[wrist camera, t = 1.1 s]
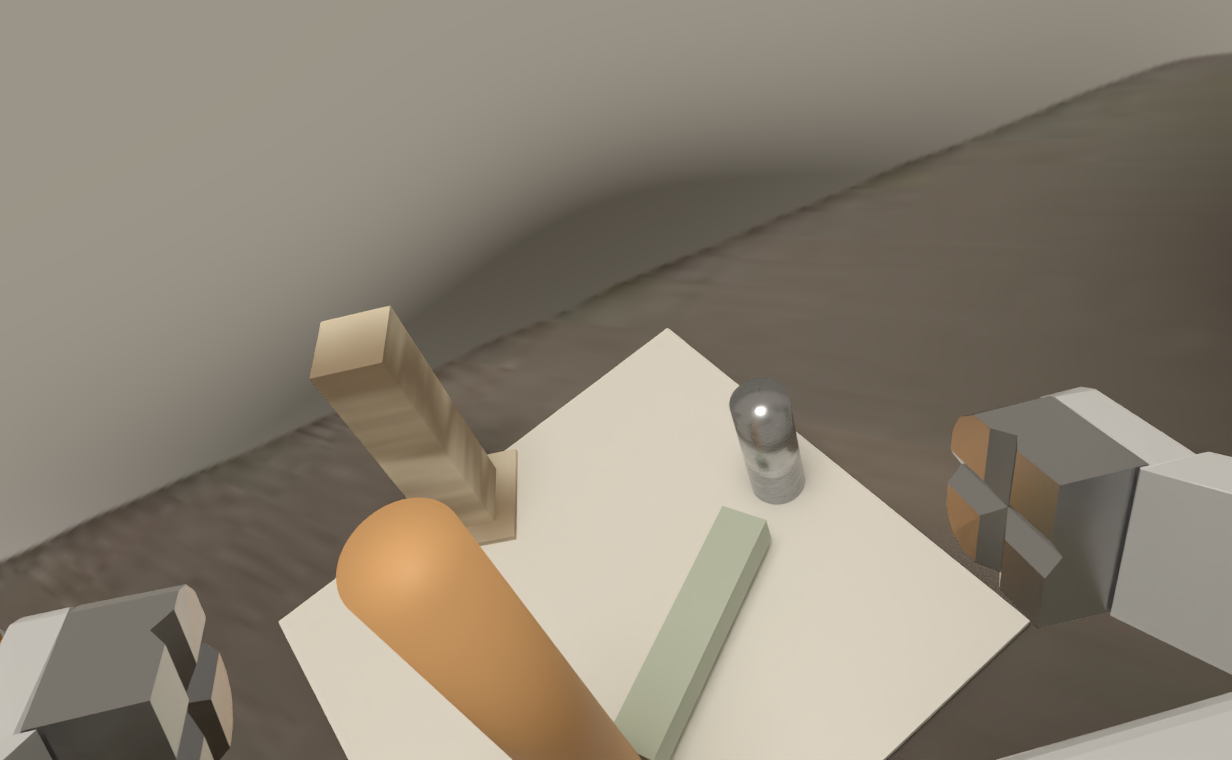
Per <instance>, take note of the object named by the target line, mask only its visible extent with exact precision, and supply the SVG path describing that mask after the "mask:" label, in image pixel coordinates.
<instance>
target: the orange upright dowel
mask: <svg viewBox="0 0 1232 760" xmlns="http://www.w3.org/2000/svg"><path fill="white" fill-rule="evenodd" d="M770 541H771V535H770V532H769V528H768V524H767V521H766V520H765V519H762V518H759V517H756V516H753V515H749V514H746V513H743V512H740V511H737V510H734V509H731V508H728V507H725V506H722V508H721V510H720V512H719V514H718V516H717V518H716V520H715V522H714V524H713V526H712V528H711V530H710V532H709V534H708V536H707V538H706V540H705V542H704V544H703V546H702V548H701V550H700V552H699V554H698V556H697V558H696V560H695V562H694V564H693V566H692V568H691V570H690V572H689V574H688V576H687V578H686V580H685V582H684V584H683V586H682V587H681V589H680V591H679V593H678V595H677V597H676V599H675V601H674V603H673V605H672V607H671V609H670V611H669V613H668V615H667V617H666V619H665V621H664V623H663V625H662V627H661V629H660V631H659V633H658V635H657V637H656V639H655V641H654V643H653V645H652V647H651V649H650V651H649V653H648V655H647V657H646V659H645V661H644V663H643V665H642V667H641V669H640V671H639V673H638V675H637V677H636V679H635V681H634V683H633V685H632V687H631V689H630V691H629V693H628V695H627V697H626V699H625V701H624V703H623V705H622V707H621V709H620V711H619V713H618V715H617V717H616V719H615V721H614V722H613V721H612V720H611V718H610V717H609V716H608V714H607V713H606V712H605V710H604V709H603V708H602V706H601V705H600V704H599V702H598V701H597V700H596V698H595V697H594V696H593V694H592V693H591V692H590V691H589V689H588V688H587V687H586V685H585V684H584V683H583V681H582V680H581V679H580V677H579V676H578V675H577V673H576V672H575V671H574V669H573V668H572V667H571V665H570V664H569V663H568V662H567V660H566V659H565V658H564V656H563V655H562V654H561V652H560V651H559V650H558V648H557V647H556V646H555V644H554V643H553V642H552V640H551V639H550V638H549V636H548V635H547V634H546V633H545V631H544V630H543V629H542V627H541V626H540V625H539V623H538V622H537V621H536V619H535V618H534V617H533V615H532V614H531V613H530V611H529V610H528V609H527V607H526V606H525V605H524V604H523V602H522V601H521V600H520V598H519V597H518V596H517V594H516V593H515V592H514V590H513V589H512V588H511V586H510V585H509V584H508V582H507V581H506V580H505V578H504V577H503V576H502V575H501V573H500V572H499V571H498V569H497V568H496V567H495V565H494V564H493V563H492V561H491V560H490V559H489V557H488V556H487V555H486V553H485V552H484V551H483V549H482V548H481V547H480V546H479V544H478V543H477V542H476V540H475V539H474V538H473V536H472V535H471V534H470V532H469V531H468V530H467V528H466V527H465V526H464V524H463V523H462V522H461V520H460V519H459V518H458V517H457V515H456V514H455V513H454V512H453V511H452V510H451V509H450V508H449V507H448V506H446V505H445V504H443V503H441V502H439V501H437V500H433V499H429V498H407V499H403V500H399V501H396V502H393V503H391V504H389V505H386V506H384V507H382V508H381V509H379V510H377V511H376V512H374V513H373V514H372V515H370V516H369V517H368V518H367V519H365V520H364V521H363V522H362V523H361V524H360V525H359V526H358V527H357V528H356V530H355V531H354V532H353V533H352V535H351V536H350V538H349V539H348V541H347V542H346V544H345V546H344V548H343V550H342V552H341V555H340V558H339V561H338V565H337V572H336V584H337V590H338V593H339V596H340V598H341V600H342V602H343V603H344V605H345V606H346V607H347V608H348V609H349V610H350V611H351V612H352V613H353V614H354V615H355V616H356V617H358V618H359V619H360V620H361V621H362V622H363V623H364V624H365V625H366V626H367V627H368V628H370V629H371V630H372V631H373V632H374V633H375V634H376V635H377V636H378V637H379V638H380V639H381V640H383V641H384V642H385V643H386V644H387V645H388V646H389V647H390V648H391V649H392V650H393V651H395V652H396V653H397V654H398V655H399V656H400V657H401V658H402V659H403V660H404V661H405V662H407V663H408V664H409V665H410V666H411V667H412V668H413V669H414V670H415V671H416V672H417V673H419V674H420V675H421V676H422V677H423V678H424V679H425V680H426V681H427V682H428V683H429V684H431V685H432V686H433V687H434V688H435V689H436V690H437V691H438V692H439V693H440V694H441V695H442V696H444V697H445V698H446V699H447V700H448V701H449V702H450V703H451V704H452V705H453V706H454V707H456V708H457V709H458V710H459V711H460V712H461V713H462V714H463V715H464V716H465V717H466V718H468V719H469V720H470V721H471V722H472V723H473V724H474V725H475V726H476V727H477V728H478V729H480V730H481V731H482V732H483V733H484V734H485V735H486V736H487V737H488V738H489V739H490V740H492V741H493V742H494V743H495V744H496V745H497V746H498V747H499V748H500V749H501V750H502V751H504V752H505V753H506V754H507V755H508V756H509V757H510V758H511V759H512V760H669V759H670V757H671V755H672V753H673V751H674V749H675V747H676V744H677V742H678V740H679V738H680V736H681V734H682V731H683V729H684V727H685V725H686V723H687V721H688V718H689V716H690V714H691V712H692V710H693V708H694V705H695V703H696V701H697V699H698V697H699V695H700V692H701V690H702V688H703V686H704V684H705V682H706V679H707V677H708V675H709V673H710V671H711V669H712V666H713V664H714V662H715V660H716V658H717V656H718V653H719V651H720V649H721V647H722V645H723V643H724V640H725V638H726V636H727V634H728V632H729V630H730V627H731V625H732V623H733V621H734V619H735V617H736V615H737V612H738V610H739V608H740V606H741V604H742V602H743V599H744V597H745V595H746V593H747V591H748V589H749V586H750V584H751V582H752V580H753V578H754V576H755V573H756V571H757V569H758V567H759V565H760V563H761V560H762V558H763V556H764V554H765V552H766V550H767V547H768V545H769V543H770Z"/></svg>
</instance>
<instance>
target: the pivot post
mask: <svg viewBox="0 0 1232 760" xmlns="http://www.w3.org/2000/svg"><path fill="white" fill-rule="evenodd" d="M729 408H730V412H731V415H732V419H733V422H734V426H735V430H736V433H737V437H738V440H739V444H740V447H741V451H742V454H743V458H744V461H745V465H746V469H747V472H748V476H749V479H750V483H751V486H752V490H753V492H754V494H755V495H756V496H757V497H758V498H759V499H760V500H762V501H763V502H766V503H769V504H774V505H780V504H785V503H788V502H791V501H792V500H794V499H795V498H797V497H798V496H799V495H800V494H801V492H802V491H803V489H804V486H805V475H804V470H803V465H802V460H801V455H800V450H799V445H798V439H797V434H796V429H795V424H794V419H793V414H792V409H791V404H790V399H789V394H788V392H787V390H786V388H785V387H784V386H783V385H782V384H780V383H779V382H777V381H775V380H772V379H768V378H756V379H752V380H749V381H746V382H744V383H743V384H741V385H740V386H739V387H737V388H736V389H735V391H734V392H733V393H732V395H731V398H730V401H729Z"/></svg>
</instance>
